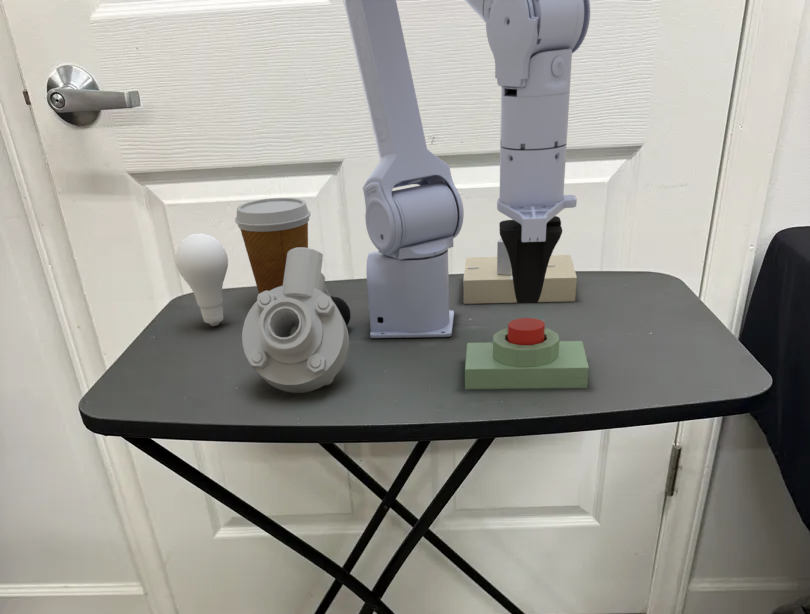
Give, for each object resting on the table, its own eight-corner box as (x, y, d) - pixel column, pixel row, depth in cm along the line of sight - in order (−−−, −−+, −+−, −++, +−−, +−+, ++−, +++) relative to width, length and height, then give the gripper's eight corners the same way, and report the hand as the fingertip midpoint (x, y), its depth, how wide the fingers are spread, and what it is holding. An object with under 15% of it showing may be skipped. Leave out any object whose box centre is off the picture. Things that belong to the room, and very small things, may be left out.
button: (507, 348, 76) (508, 330, 75) (507, 334, 79) (507, 318, 78) (544, 347, 76) (545, 330, 75) (543, 334, 79) (543, 317, 78)
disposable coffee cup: (261, 289, 108) (246, 197, 101) (327, 289, 107) (317, 195, 100) (239, 312, 100) (222, 215, 93) (311, 312, 99) (298, 213, 92)
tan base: (463, 305, 98) (463, 280, 96) (466, 278, 107) (465, 255, 105) (575, 303, 96) (577, 277, 95) (568, 276, 105) (570, 252, 104)
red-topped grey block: (510, 275, 97) (511, 240, 95) (496, 274, 98) (497, 239, 95) (524, 259, 102) (525, 226, 100) (511, 259, 103) (511, 225, 100)
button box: (465, 389, 77) (464, 351, 75) (467, 362, 83) (466, 326, 81) (587, 388, 76) (590, 349, 74) (580, 360, 82) (583, 323, 79)
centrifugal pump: (364, 429, 92) (380, 307, 93) (330, 380, 72) (350, 227, 74) (280, 421, 93) (297, 301, 94) (225, 370, 74) (247, 220, 75)
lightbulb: (249, 323, 97) (233, 231, 91) (208, 337, 93) (189, 243, 87) (220, 313, 100) (203, 225, 94) (180, 327, 97) (159, 236, 91)
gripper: (588, 157, 61) (575, 325, 69) (573, 130, 73) (563, 276, 80) (498, 161, 62) (495, 327, 69) (497, 133, 73) (495, 278, 81)
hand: (527, 300), depth 75 cm, fingers closed
